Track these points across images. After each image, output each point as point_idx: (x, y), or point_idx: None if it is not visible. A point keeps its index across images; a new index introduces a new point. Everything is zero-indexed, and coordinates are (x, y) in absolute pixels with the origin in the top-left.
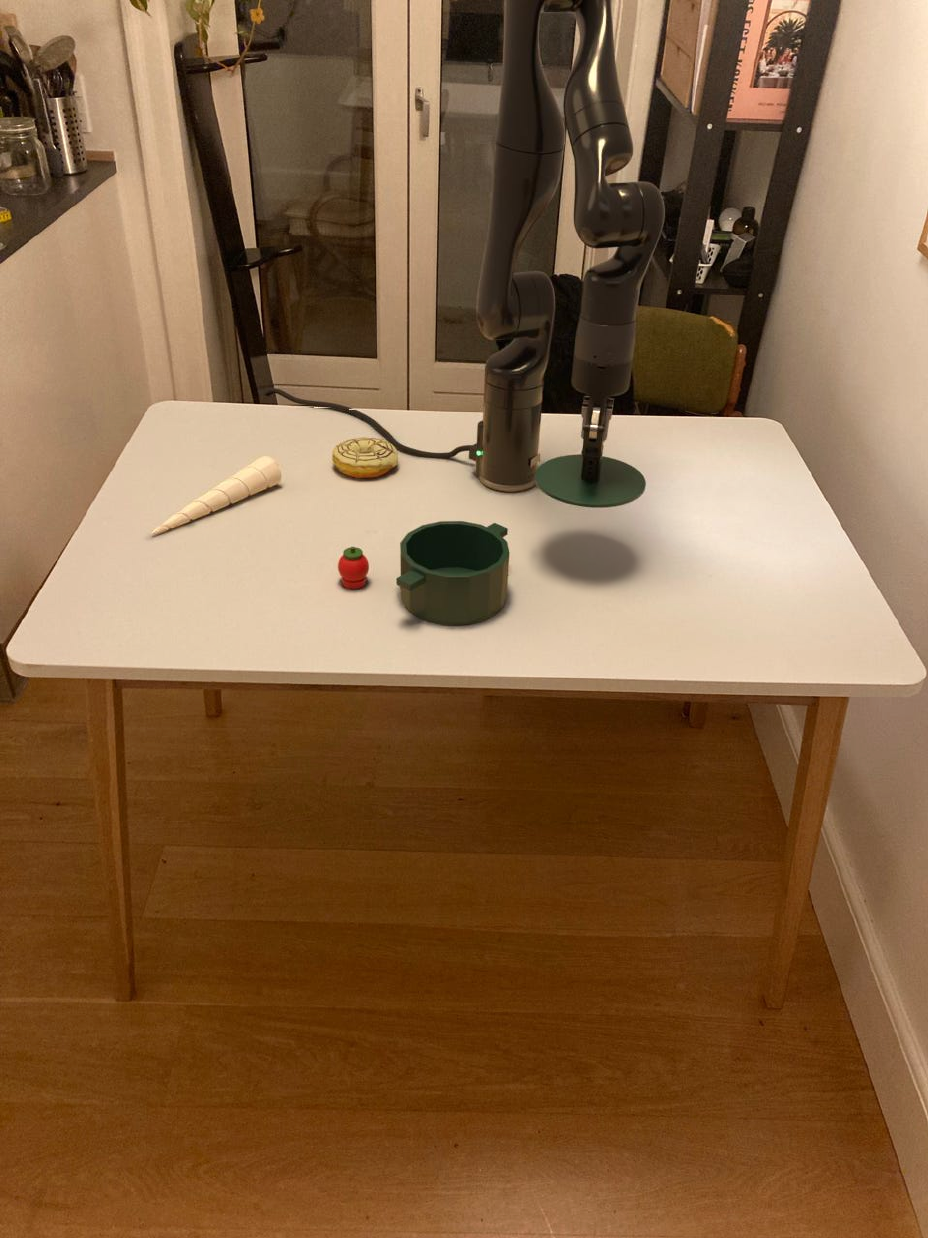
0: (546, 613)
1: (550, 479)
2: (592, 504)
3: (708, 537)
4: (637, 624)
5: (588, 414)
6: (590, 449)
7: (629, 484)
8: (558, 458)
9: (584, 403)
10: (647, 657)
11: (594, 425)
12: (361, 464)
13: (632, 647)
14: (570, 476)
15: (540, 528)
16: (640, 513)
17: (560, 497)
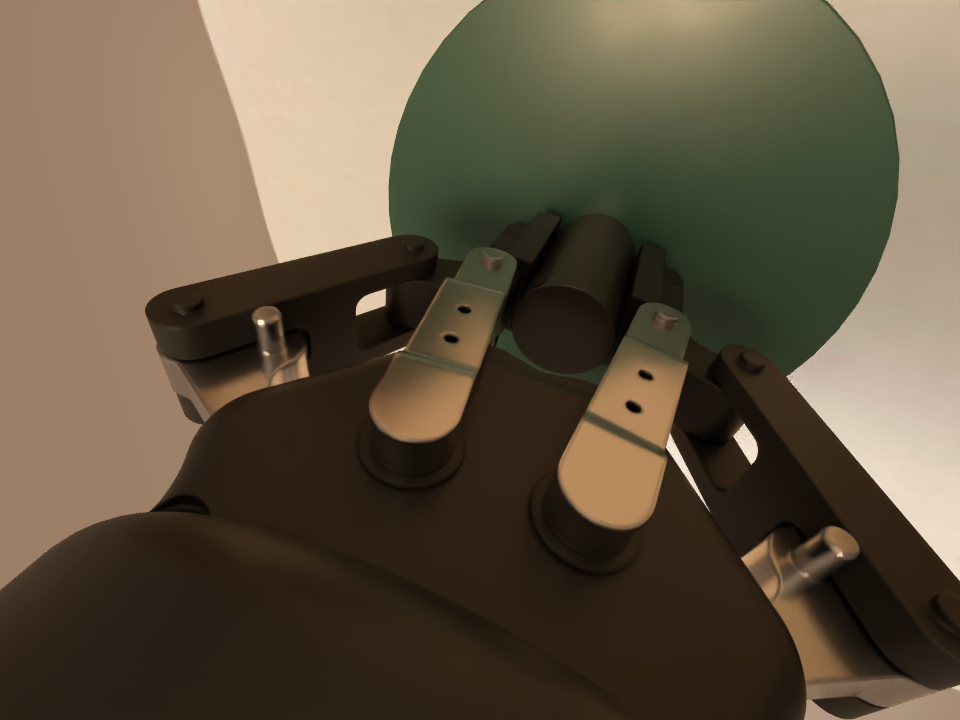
0: (383, 20)
1: (596, 48)
2: (389, 211)
3: (673, 444)
4: (381, 226)
5: (240, 396)
6: (393, 291)
7: (536, 367)
8: (868, 134)
9: (401, 449)
10: (300, 217)
11: (169, 373)
12: None
13: (318, 199)
14: (621, 168)
15: (864, 38)
16: (835, 369)
17: (420, 84)
